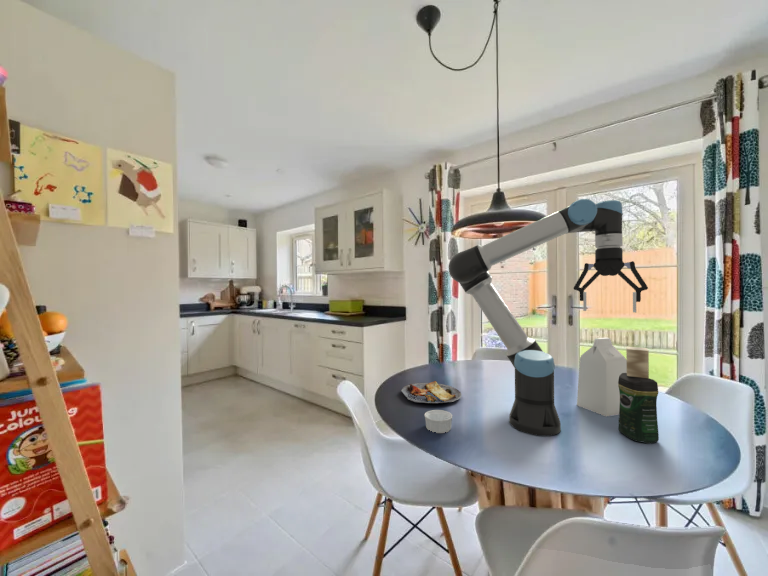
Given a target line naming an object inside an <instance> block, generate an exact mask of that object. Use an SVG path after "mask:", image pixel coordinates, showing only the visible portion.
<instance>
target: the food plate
mask: <svg viewBox="0 0 768 576" xmlns="http://www.w3.org/2000/svg"><path fill="white" fill-rule="evenodd" d="M425 389H426V390H425ZM400 391H401V393H402V394H403V396H404V397H406V398H407V400H409V401H411V402H414V403H424V404H443V403H444V404H445V403H452V402H455V401H457V400H459V399H461V398H462V393H461V391H460V390H458V389H457V388H455V387H454V386H452V385H448V384H443V383H438V382H437V381H436V380H434V381H431V382H414V383H409V384H408V385H405V386H403V387H402V388H401V390H400ZM427 392H430V393H432V394H433V395H434V396H436V397H438V398H439V399H440V400H442V401H444V402H441V401H440V400H439V401H438V399H436V398H435V397H433V396H431V395H426V394H428V393H427ZM408 394H412V395H414V396H416V397H417V396H425V397H426V399H427V401H431V402H427V401H425V400H419V399H416V398H415V399H416V400H415V399H413V398H412V397H411V398H412V399H411V398H409V397H408ZM409 396H410V395H409ZM435 401H437V402H435Z"/></svg>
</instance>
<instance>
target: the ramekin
mask: <svg viewBox="0 0 768 576" xmlns="http://www.w3.org/2000/svg"><path fill="white" fill-rule="evenodd" d="M424 419H425V427H426V429H427V430H428V431H429V430H430V432H431V431H432V432H431V433H434V432H436V433H435V434H446V433H448V432H450V431H451V429H452V421H453V414H452V413H451V412H450V411H447V410H443V409H433V410H427V411H426V412H425V413H424ZM445 432H446V433H445Z"/></svg>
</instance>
